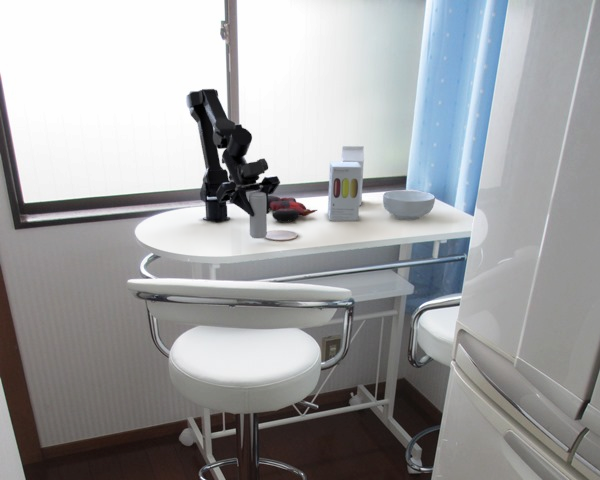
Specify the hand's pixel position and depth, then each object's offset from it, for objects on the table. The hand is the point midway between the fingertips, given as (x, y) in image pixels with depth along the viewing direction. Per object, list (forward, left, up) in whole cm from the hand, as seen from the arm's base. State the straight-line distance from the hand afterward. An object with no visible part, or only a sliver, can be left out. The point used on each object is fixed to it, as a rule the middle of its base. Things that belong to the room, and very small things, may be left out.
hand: (260, 214), depth 192 cm
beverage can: (-1, 0, -7) cm, 7 cm away
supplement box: (+1, +40, -9) cm, 41 cm away
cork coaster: (-1, +10, -9) cm, 13 cm away
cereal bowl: (+17, +54, -9) cm, 58 cm away
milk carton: (-8, +58, -9) cm, 60 cm away
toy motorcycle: (-16, +33, -9) cm, 38 cm away
